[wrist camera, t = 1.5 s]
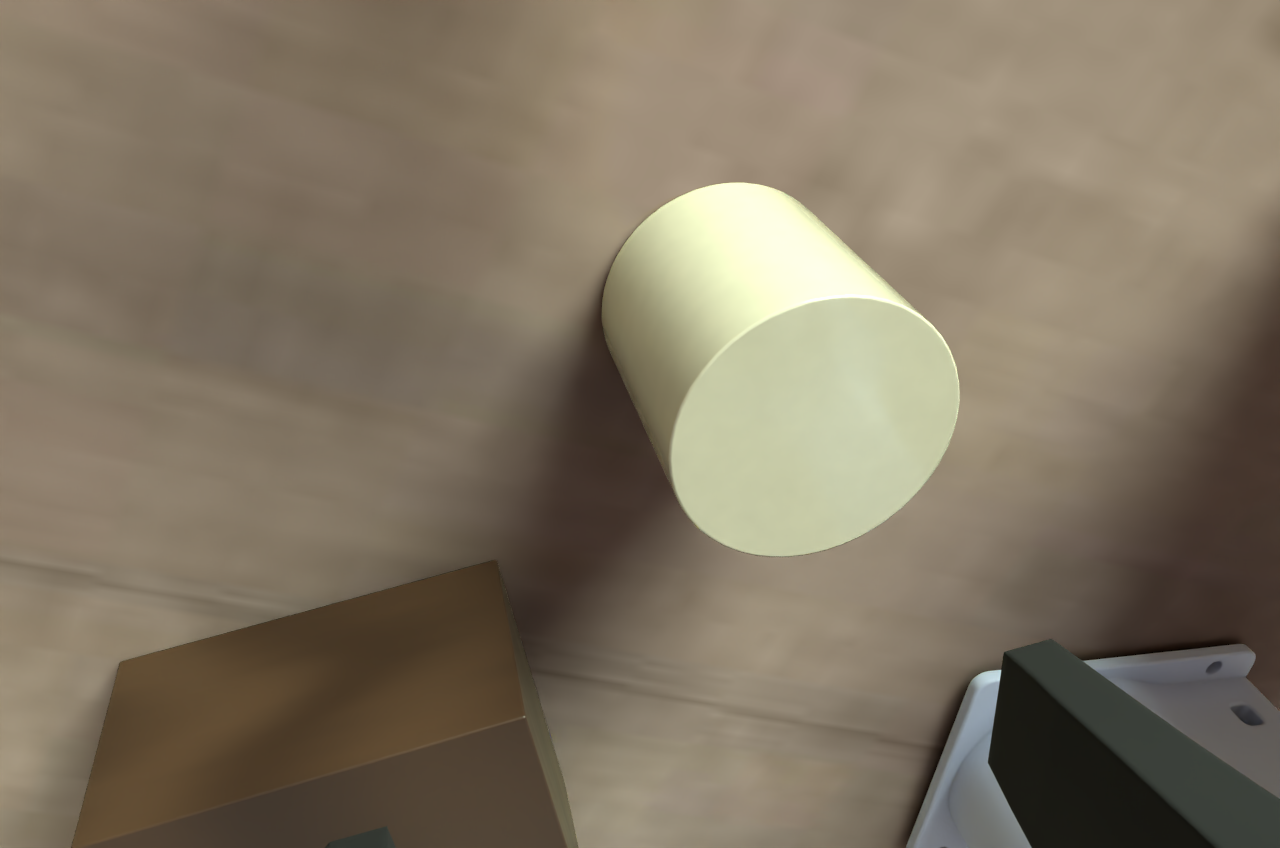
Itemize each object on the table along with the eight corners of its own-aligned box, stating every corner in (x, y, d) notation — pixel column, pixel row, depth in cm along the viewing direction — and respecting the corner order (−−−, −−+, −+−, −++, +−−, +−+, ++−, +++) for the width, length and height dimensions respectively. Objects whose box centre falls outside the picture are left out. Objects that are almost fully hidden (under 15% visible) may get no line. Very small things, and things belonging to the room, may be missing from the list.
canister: (858, 185, 19) (998, 295, 15) (809, 403, 22) (917, 549, 17) (613, 177, 18) (692, 294, 14) (591, 409, 20) (651, 567, 16)
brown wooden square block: (496, 558, 22) (526, 717, 18) (565, 784, 26) (599, 948, 23) (118, 661, 21) (68, 850, 17) (257, 877, 25) (241, 1064, 22)
